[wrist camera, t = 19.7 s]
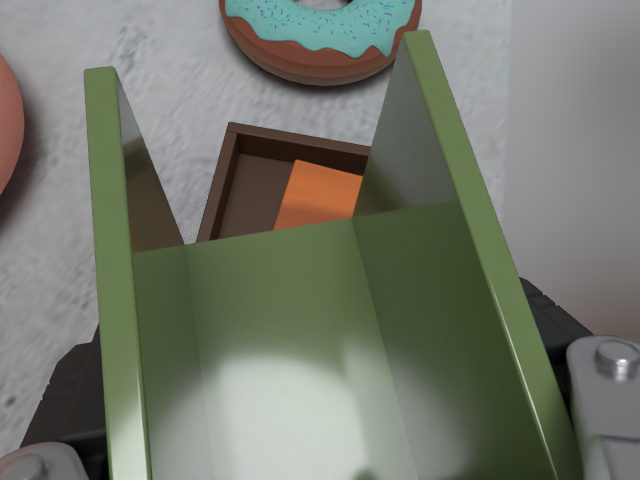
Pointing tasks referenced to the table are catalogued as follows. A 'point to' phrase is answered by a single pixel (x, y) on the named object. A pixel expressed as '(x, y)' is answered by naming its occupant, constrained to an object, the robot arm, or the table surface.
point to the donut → (320, 37)
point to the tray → (265, 176)
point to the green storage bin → (323, 318)
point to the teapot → (9, 122)
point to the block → (317, 195)
